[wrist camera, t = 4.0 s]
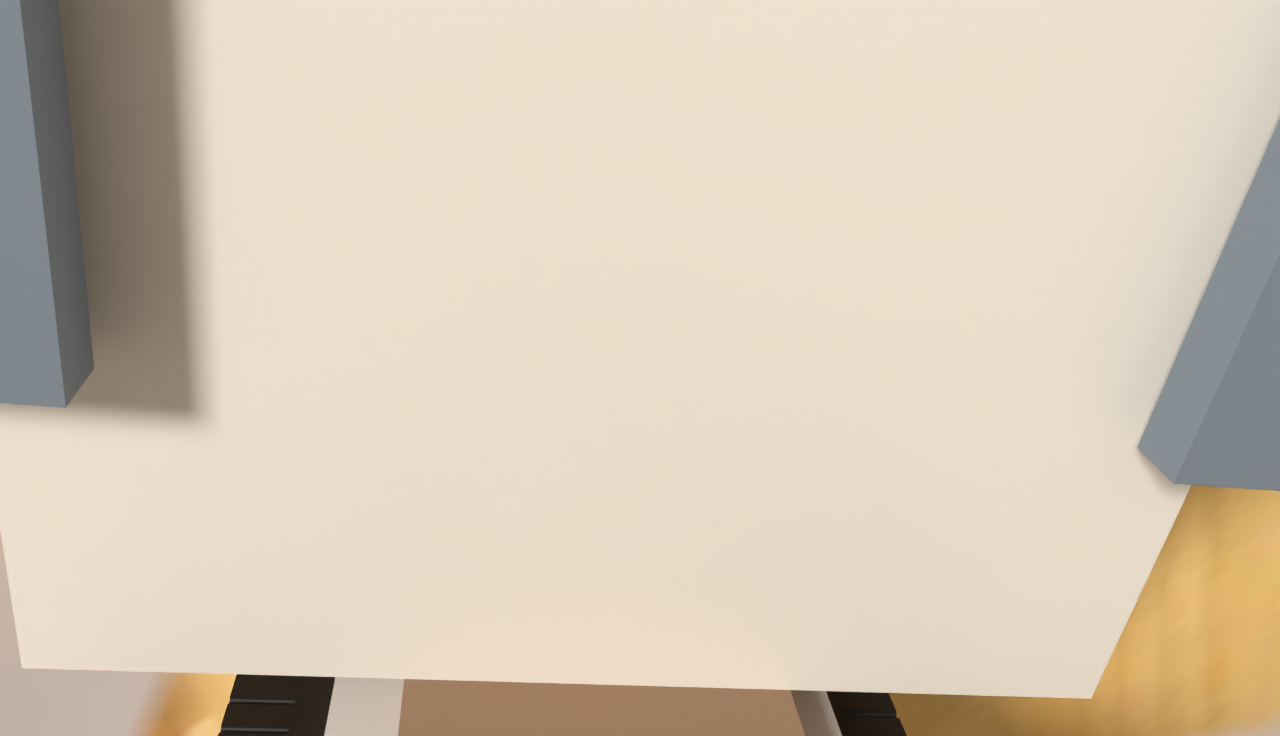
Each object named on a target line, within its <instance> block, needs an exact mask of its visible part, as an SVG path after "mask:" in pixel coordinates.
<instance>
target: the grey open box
mask: <svg viewBox="0 0 1280 736" xmlns="http://www.w3.org/2000/svg"><path fill="white" fill-rule="evenodd" d="M93 370H94V361H93V351H92V341H91V331H90V320H89V310H88V300H87V289H86V279H85V269H84V259H83V248H82V238H81V228H80V217H79V207H78V197H77V187H76V176H75V166H74V156H73V145H72V135H71V125H70V115H69V104H68V94H67V84H66V73H65V63H64V53H63V42H62V32H61V22H60V12H59V1H58V0H0V403H5V404H19V405H34V406H49V407H63V408H66V407H67V406H68V404H69V403H70V401H71V400H72V399H73V397H74V396H75V395H76V393H77V392H78V390H79V389H80V388H81V386H82V385H83V384H84V382H85V381H86V379H87V378H88V377H89V375H90V374H91V373H92V371H93ZM1138 448H1139V449H1140V450H1141V451H1142V452H1143V453H1144V454H1145V455H1146V456H1147V457H1148V458H1149V459H1150V460H1151V461H1152V462H1153V463H1154V464H1155V465H1156V466H1157V467H1158V468H1159V469H1160V470H1161V471H1162V472H1163V473H1164V474H1165V475H1166V476H1167V477H1168V478H1169V479H1170V480H1171V481H1172V482H1173V483H1174V484H1187V485H1202V486H1217V487H1231V488H1246V489H1260V490H1275V491H1280V119H1279V121H1278V124H1277V126H1276V128H1275V131H1274V133H1273V135H1272V138H1271V140H1270V142H1269V145H1268V147H1267V149H1266V151H1265V154H1264V156H1263V158H1262V161H1261V163H1260V165H1259V168H1258V170H1257V172H1256V175H1255V177H1254V179H1253V181H1252V184H1251V186H1250V188H1249V191H1248V193H1247V195H1246V198H1245V200H1244V202H1243V204H1242V207H1241V209H1240V211H1239V214H1238V216H1237V218H1236V221H1235V223H1234V225H1233V228H1232V230H1231V232H1230V234H1229V237H1228V239H1227V241H1226V244H1225V246H1224V248H1223V251H1222V253H1221V255H1220V258H1219V260H1218V262H1217V264H1216V267H1215V269H1214V271H1213V274H1212V276H1211V278H1210V281H1209V283H1208V285H1207V287H1206V290H1205V292H1204V294H1203V297H1202V299H1201V301H1200V304H1199V306H1198V308H1197V311H1196V313H1195V315H1194V317H1193V320H1192V322H1191V324H1190V327H1189V329H1188V331H1187V334H1186V336H1185V338H1184V341H1183V343H1182V345H1181V347H1180V350H1179V352H1178V354H1177V357H1176V359H1175V361H1174V364H1173V366H1172V368H1171V370H1170V373H1169V375H1168V377H1167V380H1166V382H1165V384H1164V387H1163V389H1162V391H1161V394H1160V396H1159V398H1158V400H1157V403H1156V405H1155V407H1154V410H1153V412H1152V414H1151V417H1150V419H1149V421H1148V423H1147V426H1146V428H1145V430H1144V433H1143V435H1142V437H1141V440H1140V442H1139V444H1138Z"/></svg>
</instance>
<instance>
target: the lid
mask: <svg viewBox="0 0 1280 736" xmlns="http://www.w3.org/2000/svg"><path fill="white" fill-rule="evenodd" d="M58 1H59V12H60V22H61V32H62V42H63V53H64V63H65V73H66V84H67V94H68V104H69V115H70V125H71V135H72V145H73V156H74V166H75V176H76V187H77V197H78V207H79V217H80V228H81V238H82V248H83V259H84V269H85V279H86V289H87V300H88V310H89V320H90V331H91V341H92V351H93V361H94V370H93V371H92V373H91V374H90V375H89V377H88V378H87V379H86V381H85V382H84V384H83V385H82V386H81V388H80V389H79V390H78V392H77V393H76V395H75V396H74V397H73V399H72V400H71V401H70V403H69V404H68V406H67V407H66V408H63V407H49V406H34V405H19V404H5V403H0V531H1V537H2V543H3V550H4V556H5V563H6V569H7V576H8V582H9V588H10V595H11V601H12V607H13V614H14V620H15V627H16V633H17V640H18V646H19V653H20V659H21V666H22V668H37V669H39V668H40V669H73V670H74V669H75V670H107V671H108V670H109V671H142V672H177V673H212V674H247V675H282V676H317V677H352V678H387V679H404V686H403V695H402V704H401V712H400V721H399V730H398V736H805V733H804V730H803V727H802V724H801V721H800V718H799V715H798V712H797V709H796V706H795V703H794V700H793V696H792V693H791V690H807V691H842V692H877V693H912V694H946V695H981V696H1016V697H1051V698H1086V699H1091V698H1092V695H1093V693H1094V691H1095V689H1096V687H1097V685H1098V683H1099V681H1100V678H1101V676H1102V674H1103V672H1104V670H1105V668H1106V666H1107V664H1108V661H1109V659H1110V657H1111V655H1112V653H1113V651H1114V649H1115V647H1116V644H1117V642H1118V640H1119V638H1120V636H1121V634H1122V632H1123V630H1124V627H1125V625H1126V623H1127V621H1128V619H1129V617H1130V615H1131V613H1132V610H1133V608H1134V606H1135V604H1136V602H1137V600H1138V598H1139V596H1140V593H1141V591H1142V589H1143V587H1144V585H1145V583H1146V581H1147V579H1148V576H1149V574H1150V572H1151V570H1152V568H1153V566H1154V564H1155V562H1156V559H1157V557H1158V555H1159V553H1160V551H1161V549H1162V547H1163V545H1164V543H1165V540H1166V538H1167V536H1168V534H1169V532H1170V530H1171V528H1172V526H1173V523H1174V521H1175V519H1176V517H1177V515H1178V513H1179V511H1180V509H1181V506H1182V504H1183V502H1184V500H1185V498H1186V496H1187V494H1188V492H1189V489H1190V487H1191V485H1187V484H1174V483H1173V482H1172V481H1171V480H1170V479H1169V478H1168V477H1167V476H1166V475H1165V474H1164V473H1163V472H1162V471H1161V470H1160V469H1159V468H1158V467H1157V466H1156V465H1155V464H1154V463H1153V462H1152V461H1151V460H1150V459H1149V458H1148V457H1147V456H1146V455H1145V454H1144V453H1143V452H1142V451H1141V450H1140V449H1139V448H1138V444H1139V442H1140V440H1141V437H1142V435H1143V433H1144V430H1145V428H1146V426H1147V423H1148V421H1149V419H1150V417H1151V414H1152V412H1153V410H1154V407H1155V405H1156V403H1157V400H1158V398H1159V396H1160V394H1161V391H1162V389H1163V387H1164V384H1165V382H1166V380H1167V377H1168V375H1169V373H1170V370H1171V368H1172V366H1173V364H1174V361H1175V359H1176V357H1177V354H1178V352H1179V350H1180V347H1181V345H1182V343H1183V341H1184V338H1185V336H1186V334H1187V331H1188V329H1189V327H1190V324H1191V322H1192V320H1193V317H1194V315H1195V313H1196V311H1197V308H1198V306H1199V304H1200V301H1201V299H1202V297H1203V294H1204V292H1205V290H1206V287H1207V285H1208V283H1209V281H1210V278H1211V276H1212V274H1213V271H1214V269H1215V267H1216V264H1217V262H1218V260H1219V258H1220V255H1221V253H1222V251H1223V248H1224V246H1225V244H1226V241H1227V239H1228V237H1229V234H1230V232H1231V230H1232V228H1233V225H1234V223H1235V221H1236V218H1237V216H1238V214H1239V211H1240V209H1241V207H1242V204H1243V202H1244V200H1245V198H1246V195H1247V193H1248V191H1249V188H1250V186H1251V184H1252V181H1253V179H1254V177H1255V175H1256V172H1257V170H1258V168H1259V165H1260V163H1261V161H1262V158H1263V156H1264V154H1265V151H1266V149H1267V147H1268V145H1269V142H1270V140H1271V138H1272V135H1273V133H1274V131H1275V128H1276V126H1277V124H1278V121H1279V119H1280V0H58Z"/></svg>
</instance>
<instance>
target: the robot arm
mask: <svg viewBox="0 0 1280 736" xmlns="http://www.w3.org/2000/svg"><path fill="white" fill-rule="evenodd" d="M403 686H404V679H387V678H352V677H317V676H282V675H247V674H237V676H236V679H235V682H234V686H233V689H232V692H231V695H230V702H229V704H228V705H227V709H226V712H225V715H224V718H223V722H222V725H221V732H220V733H219V735H218V736H398V730H399V721H400V712H401V704H402V695H403ZM791 693H792V696H793V700H794V703H795V706H796V709H797V712H798V715H799V718H800V721H801V724H802V727H803V730H804V733H805V736H907V735H906V733H905V731H904V728H903V726H902V724H901V721H900V719H899V718H897V717H896V710H895V707H894V705H893V703H892V700H891V698H890V696H889V693H877V692H842V691H807V690H791Z"/></svg>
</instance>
